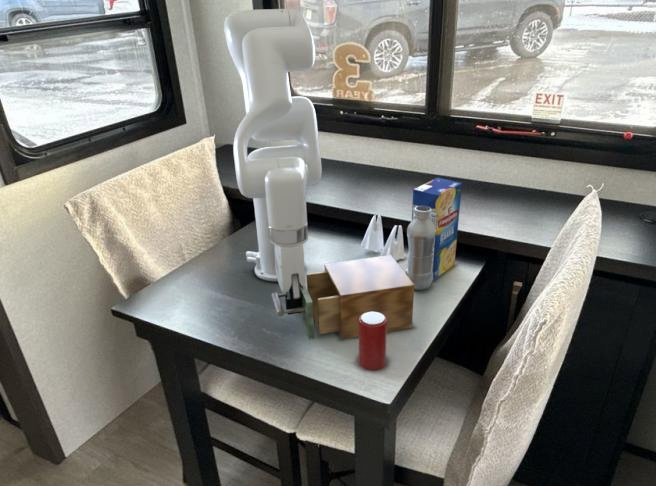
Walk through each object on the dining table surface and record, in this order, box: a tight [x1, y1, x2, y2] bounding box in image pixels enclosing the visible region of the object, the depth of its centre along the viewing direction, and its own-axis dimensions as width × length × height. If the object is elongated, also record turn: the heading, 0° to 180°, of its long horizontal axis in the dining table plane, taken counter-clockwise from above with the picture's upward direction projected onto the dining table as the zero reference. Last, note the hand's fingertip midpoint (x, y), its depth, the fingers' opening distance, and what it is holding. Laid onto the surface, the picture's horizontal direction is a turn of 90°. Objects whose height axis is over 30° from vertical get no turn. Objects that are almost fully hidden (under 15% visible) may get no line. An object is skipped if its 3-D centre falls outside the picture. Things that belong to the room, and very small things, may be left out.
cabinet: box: [323, 255, 415, 340], centre depth 120 cm, size 16×15×11 cm
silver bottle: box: [405, 206, 436, 291], centre depth 128 cm, size 6×7×20 cm
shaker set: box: [360, 214, 405, 262], centre depth 146 cm, size 12×4×11 cm, turn 52°
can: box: [358, 312, 387, 371], centre depth 105 cm, size 5×5×10 cm
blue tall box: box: [411, 177, 463, 281], centre depth 135 cm, size 7×11×22 cm, turn 140°
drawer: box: [271, 270, 341, 340], centre depth 118 cm, size 20×13×9 cm, turn 104°
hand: (294, 311), depth 117 cm, fingers closed
